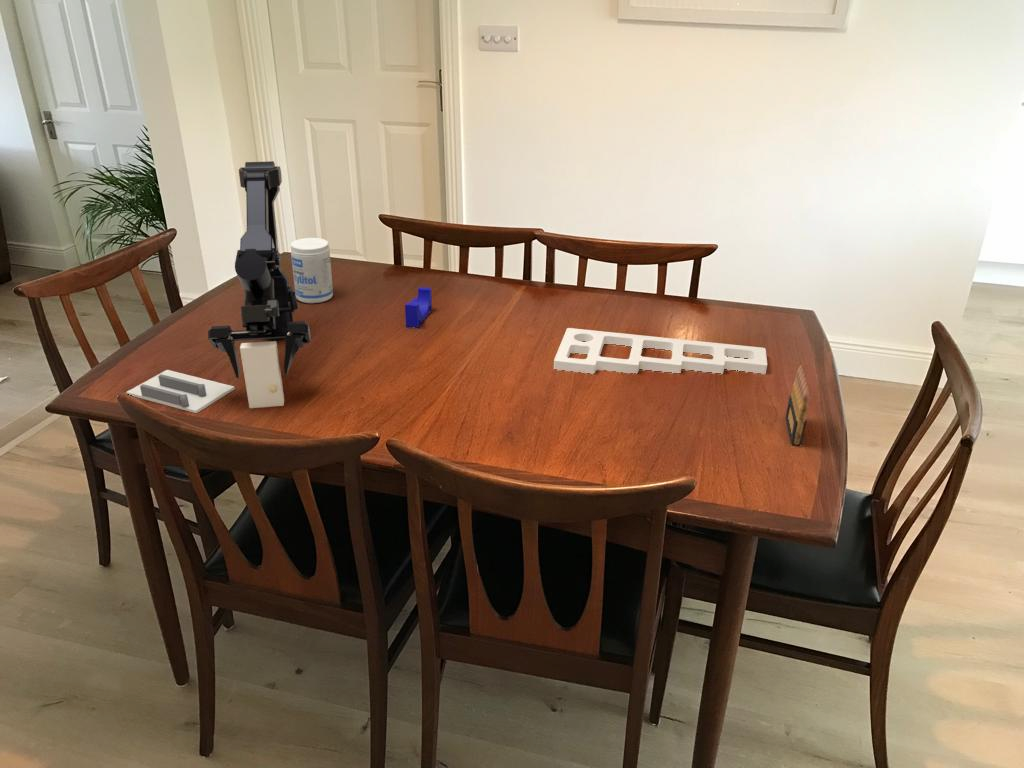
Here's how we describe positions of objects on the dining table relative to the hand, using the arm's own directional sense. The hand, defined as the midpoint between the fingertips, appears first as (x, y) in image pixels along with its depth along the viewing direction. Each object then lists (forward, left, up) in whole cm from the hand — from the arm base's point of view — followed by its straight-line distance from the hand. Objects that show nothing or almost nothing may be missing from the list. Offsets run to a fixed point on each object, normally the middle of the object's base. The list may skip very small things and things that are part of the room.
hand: (261, 376), depth 157 cm
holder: (-77, +33, -8) cm, 85 cm away
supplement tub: (-34, -47, -7) cm, 58 cm away
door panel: (-1, -1, -7) cm, 7 cm away
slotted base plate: (+11, -16, -7) cm, 21 cm away
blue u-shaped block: (-48, -20, -7) cm, 52 cm away
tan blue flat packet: (-76, +69, -7) cm, 102 cm away
